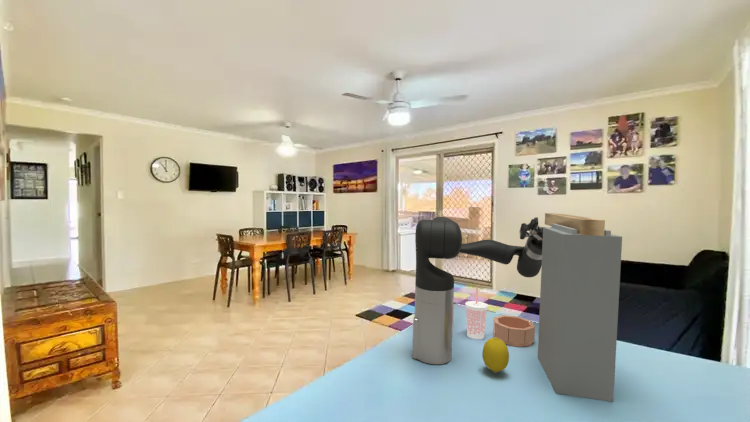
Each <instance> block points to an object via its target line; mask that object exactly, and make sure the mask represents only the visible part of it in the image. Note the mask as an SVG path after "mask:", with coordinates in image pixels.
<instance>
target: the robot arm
mask: <svg viewBox="0 0 750 422" xmlns="http://www.w3.org/2000/svg"><path fill="white" fill-rule="evenodd" d="M543 227H544V226H540V225H539V217H534V218H531V220H530V221H529V222H528V224H527V223H524V222H523V223H521V225H520V229H519V239H520V240H525V238H527V239H526V242H525V244H524V246H520V245H510V244H506V243H503V242H500V241H498V240H497V241H496V240H493V239H481V240H476V241H473V242H472V241H471V242H466V243H463V235H462V231H461V228H460V225H459V224H458V222H457V221H454V220H453V219H451V218H449V217H445V216H436V217H434V218H433V219H420V220H419V221H418V222H417V224H416V226H415V234H414V236H415V240H414V241H415V280H414V281H415V284H414V285H415V287H414V288H415V289H414V290H415V291H414V316H413V320H412V321H413V323H412V350H411V351H412V353H411V354H412V359H415V360H418V361H420V362H422V363H425V364H430V365H443V364H447V363H449V362H451V360H452V358H453V354H452V353H453V332H454V331H453V329H454V327H453V326H454V300H455V299H454V295H455V293H454V292H455V277H454V275H453V274H451V273H450V272H449V271H445V270H443V269H441V268H439V267H437V266H435V264H433V263H432V262H431V261H430V259H441V260H442V259H444V260H451V259H455V258H456V257H458V255H460V253H461V254H465V255H470V256H476V257H479V258H483V259H487V260H490V261H492V262H495V263H498V264H499V263H500V264H502V265H510V263H511V262H512V260H513V258H514V256H518V257H517V258H518V259H517V263H516V271H517V272H518V274H519V275H520V276H523V277H525V278H534V277H536V276H538V275H539V273H540V271H541V267H542V244H543ZM545 227H546V226H545ZM546 228H548V227H546ZM549 228H552V226H549ZM528 231H529V232H528Z"/></svg>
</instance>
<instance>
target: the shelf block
mask: <svg viewBox="0 0 750 422" xmlns="http://www.w3.org/2000/svg"><path fill="white" fill-rule="evenodd" d="M542 227H543V244H542V266H541V269H540V271H541V272H540V273H541V274H540V294H539V296H540V298H539V319H538V341H537V360H538V361H539V363H540V365H541V367H542V369H543V371H544V373H545V375H546V376H547V377H546V378H547V379H548V380H549V382H550V384H551V386H552V388H553V390H554V393H555V394H557V395H564V396H569V397H570V396H571V397H579V398H584V399H585V398H586V399H591V400H598V401H605V402H612V403H613V402H614V395H615V394H614V393H615V379H616V378H615V376H616V375H615V373H616V359H617V357H616V356H617V341H618V337H617V336H618V322H619V321H618V319H619V303H620V302H619V300H620V288H621V285H620V283H621V265H622V249H623V248H622V247H623V236H620V235H616V234H613V233H612V230H609V229H604V236H593V235H579V234H577V229H573V228H570V227H566V226H562V225H558V224H552V226H551V227H552V228H550V227H547V228H546V226H542Z"/></svg>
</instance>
